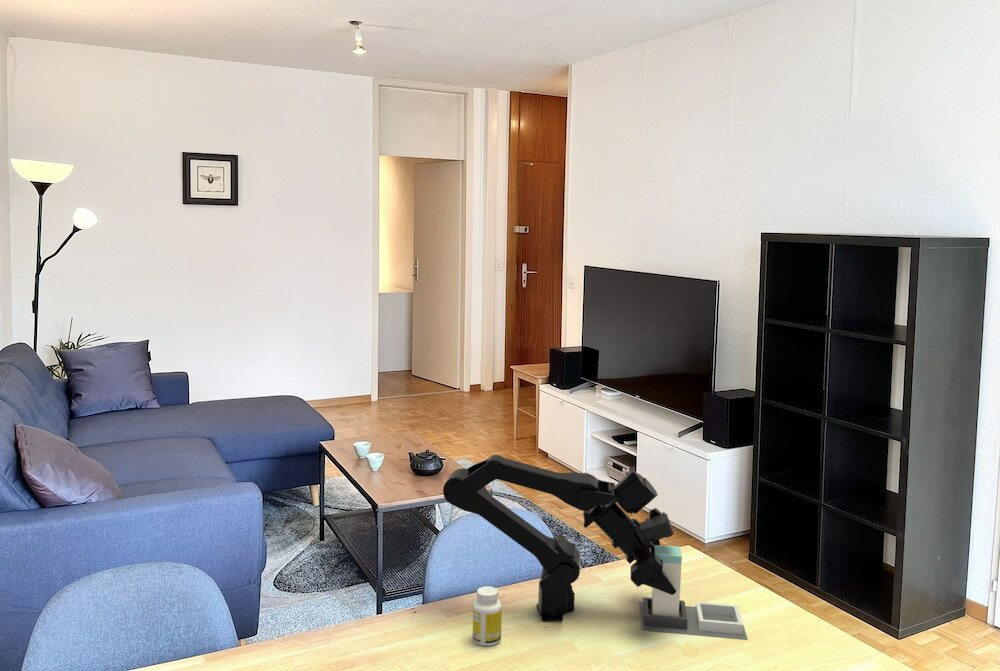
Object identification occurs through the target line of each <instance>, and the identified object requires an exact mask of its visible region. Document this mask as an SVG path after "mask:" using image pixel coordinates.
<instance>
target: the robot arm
mask: <svg viewBox="0 0 1000 671" xmlns="http://www.w3.org/2000/svg"><path fill="white" fill-rule="evenodd" d="M496 480H499V481H503V482H505V483H509V484H513V485H517V486H520V487H524V488H526V489H527V488H528V489H532V490H535V491H537V492H542V493H546V494H548V495H552V496H554V497H555V498H558V499H559V500H560V501H562V502H563V503H564V504H566V505H568V506H570V507H573V508H575V509H577V510H579V511H582V512H583V514H582V516H583V519H584V520H583V527H584V528H585V529H587V528H588V527H589V526H591V524H593V523H594V524H595V525H596V526H597V527H598V528H599V529H600V530H601V531H602V532H603V533H604V534H605V535H606V536H607V538H608V539H609V540H610V541H611V546H612V547H613V548H614V549H619V550H620V552H622V553H623V554H624V555H625V558H626V559H625V560H626V561H627V563H628V564H632V565H630V580H631V582H632V583H633V584H634V585H635V586H636V587H637V588H638V587H639V588H640V587H641V586H643V585H644V586H647V587H650V588H652V587H653V588H656V589H658V590H661V591H663V592H666V593H668V594H671V595H674V594H675V593H676V589H675V588H674V586H673V585H672V583H671V582H670V581H669V579H668V578H667V576H666V575H665V573H664V572H663V561H662V559H661V560H660V558H659V557H658V556H657V555H656V553H655V552H654V545H661V543H660V542H661V541H660V540H661V539H662V540H663V539H665V538H671V537H672V536H674V529H673V525H672V524H671V521H670V519H669V517H668V516H669V515H668V514H667V513H665V511H663V512H661V511H660V510H659V509H658V508H657V507H655V508H652V509H649V512H648V513H649V514H648V517H647V518H645V520H644V521H641V522H640V521H639V520H638V519H637V518H634V517H632V518H631V517H630V516H629V515H628V514H630V515H632V514H635V515H636V514H638V513H639V512H640V511H641V510H643V509H644V508H645V506H647V505H648V504H650V503H651V502H652V501H653V500H655V498H656V497H658V493H657V490H656V488H654V486H653V485H652V483H651V482H650V481H649V480H648V479H647V478H646V477H644V476H643V475H641V473H638V472H637V471H636V470H635V469H631V470H630V471H629V472H628V473H627V474H626V476H625V477H624V478H622V479H621V480H620V481H619V482H618V483H617V484H616V483H615V482H611V481H605V480H600V479H598V478H597V477H596V476H594V475H593V474H589V473H584V472H583V473H581V472H573V471H571V472H556V471H552V470H550V469H546V468H542V467H538V466H535V465H531V464H529V463H525V462H520V461H518V460H513V459H510V458H506V457H503V456H501V455H499V454H493V455H491V456H490V457H488V458H487V459H485V460H482V461H479V462H477V463H475V464H473V465H471V466H470V467H467V468H466V467H465V468H458V469H455V470H453V472H452V473H450V475H449V477H448V478H447V480H446V481H445V482H444V485H443V487H442V493H443V497H444V499H445V501H446V502H447V503H449V505H450V504H451V506H453V507H456V508H458V509H459V510H462V511H464V512H468V513H471V514H475V515H478V516H479V517H481V518H482V519H484V520H485V521H486V522H488V523H489V524H491V526H493V527H495V528H496V529H497V530H498V531H500V532H502V533H503V534H504V535H506V536H507V537H509V538H510V539H511V540H512V541H514V542H515V543H517V544H518V545H519V546H521V547H522V548H524V550H526V551H528V553H530V554H531V555H532V556H534V557H535V558H536V559H537V561H538V563H539V564H540V565H541V567H542V570H541V575H540V579H539V581H538V601H537V602H538V603H536V605H535V606H536V609H537V611H538V614H539V617H540V620H541V621H543V622H544V621H545V622H546V621H547V622H548V621H549V622H550V621H563V618H564V615H566V614H567V613H571V612H574V611H575V597H576V596H575V594H576V593H575V592H574V589H573V586H572V584H573V583H575V582H576V581H577V580H578V578H579V577H580V573H581V564H582V557H581V552H580V551H579V550H578V549H577V544H576V543H573V542H571V541H569V540H568V539H567V538H566V537H565V536H564V535H562V534H561V533H559V534H558V535H557V537H556V538H553V537H550V536H547V535H546V534H544V533H543V532H542V531H540V530H538V529H537V528H536V527H535V526H533V525H532V524H531V523H530V522H528V521H527V520H525V519H524V518H523V517H521V516H520V515H518V514H517V513H515V512H514V511H513V510H511V509H510V508H509V507H507V506H506V505H505V504H503V503H502V502H500V501H499V500H498V499H497V498H495V497H493V496H492V494H491V493H490V491H489V490H487V488H486V486H488V485H489V484H491V483H492V482H494V481H496ZM634 561H635V562H634ZM633 562H634V563H633Z"/></svg>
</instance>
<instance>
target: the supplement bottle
mask: <svg viewBox="0 0 1000 671" xmlns="http://www.w3.org/2000/svg"><path fill="white" fill-rule="evenodd" d="M476 598H477V599H476V600H475V601H473V605H472V606H473V607H472V640H473V642H474V643H475V644H476V645H479V646H483V647H493V646H495V645H498V644H499V643H501V640H502V616H503V614H502V607H503V606H502V603H501V601H500V600H499V589H498V588H496V587H494V586H482V587H481V586H480V587H479V588H478V589H477V591H476Z"/></svg>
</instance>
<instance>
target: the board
mask: <svg viewBox="0 0 1000 671" xmlns="http://www.w3.org/2000/svg"><path fill="white" fill-rule="evenodd" d="M642 599H643V601H640V602H639V619H640V621H639V622H640V623H639V625H640V626H639V627H640V631H642V632H643V631H644V632H652V633H653V632H654V633H665V634H675V635H676V634H677V635H687V636H698V637H699V636H700V637H709V638H717V639H718V638H720V639H729V640H730V639H731V640H732V639H733V640H742V641H748V640H749V639H748V636H747V633H746V629H745V626H744V623H743V619H742V615H741V613H740V610H739V606H738V605H737V604H726V603H717V602H716V603H715V602H703V601H702V602H701V601H695V606H690V605H686V603H685V600H683V599H682V600H679V617H671V616H659V615H651V603H652V597H644V596H643V598H642Z"/></svg>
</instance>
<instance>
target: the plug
mask: <svg viewBox="0 0 1000 671" xmlns="http://www.w3.org/2000/svg"><path fill="white" fill-rule="evenodd" d="M654 552H655V553H656V555H657V556H658V557H659V558H660V560H661V559H662V561H663V572H664V573H665V575H666V576H667V578H668V579H669V581H670V582H671V583H672V585H673V586H674V588H675V589H676V593H675V594H674V595H671V594H668V593H666V592H663V591H661V590H658V589H656V588H653V587H651V598H652V603H651V615H659V616H671V617H679V600H680V598H681V597H680V596H681V595H680V594H681V583H682V582H681V580H682V579H681V578H682V560H683V556H682V551H681V546H678V545H677V546H676V545H661V544H660V545H654Z"/></svg>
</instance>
